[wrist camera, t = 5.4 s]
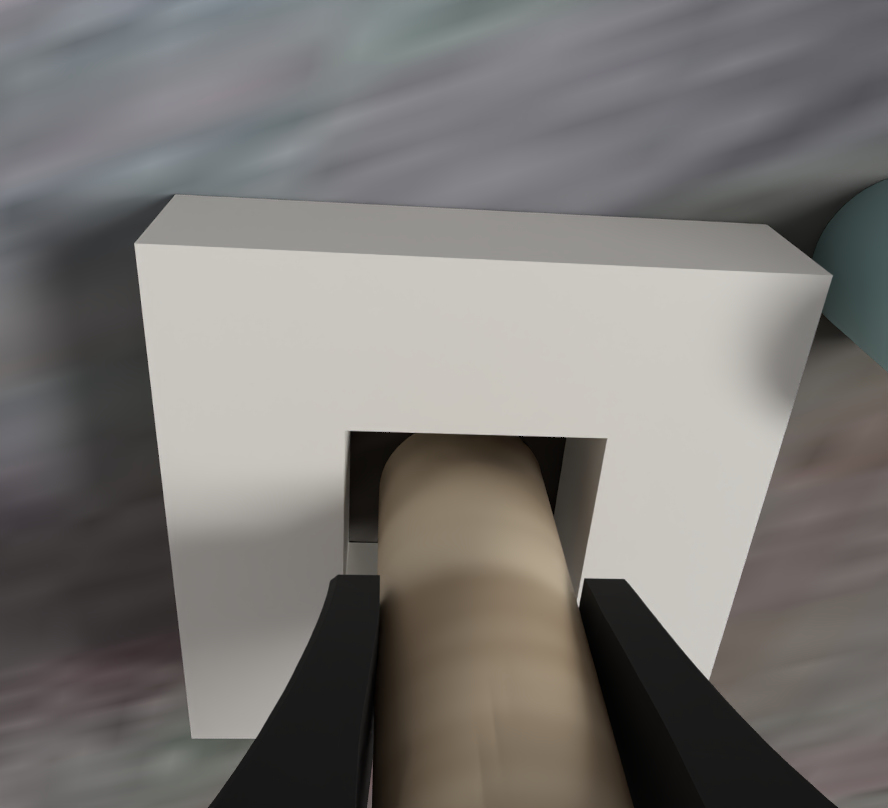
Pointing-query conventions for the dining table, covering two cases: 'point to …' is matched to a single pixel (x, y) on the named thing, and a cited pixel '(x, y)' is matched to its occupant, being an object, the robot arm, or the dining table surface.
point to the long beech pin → (482, 639)
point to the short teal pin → (859, 270)
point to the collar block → (456, 400)
